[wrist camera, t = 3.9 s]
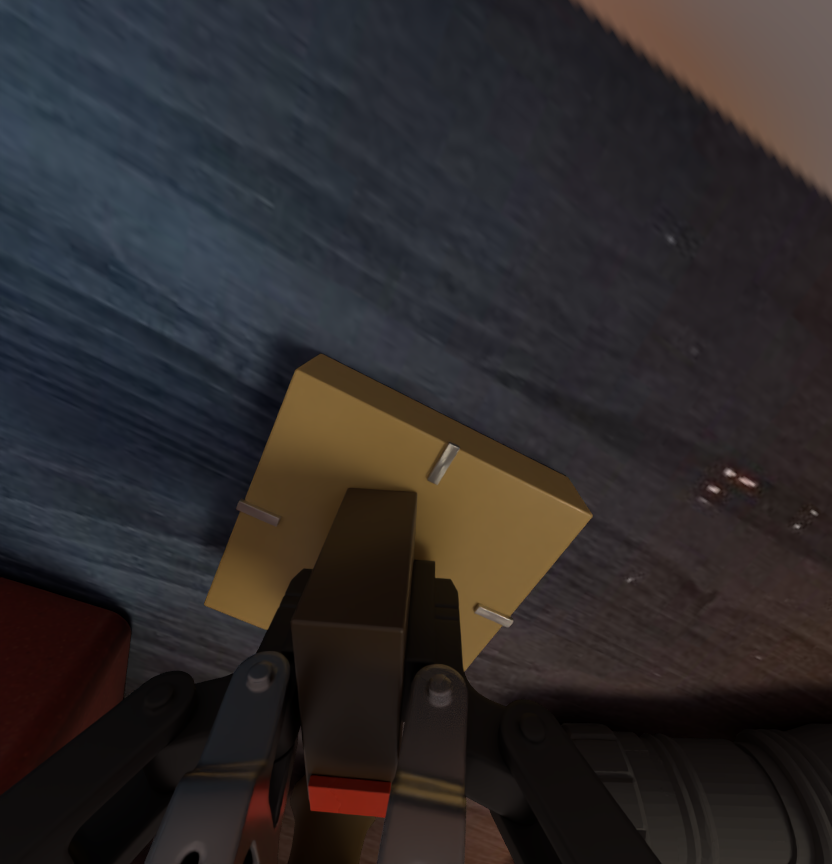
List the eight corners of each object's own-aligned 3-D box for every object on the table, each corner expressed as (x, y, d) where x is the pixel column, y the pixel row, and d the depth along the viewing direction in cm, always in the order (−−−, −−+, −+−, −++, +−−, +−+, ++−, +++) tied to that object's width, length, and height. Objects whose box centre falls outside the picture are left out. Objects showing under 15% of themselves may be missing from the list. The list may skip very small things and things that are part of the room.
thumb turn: (347, 486, 12) (283, 632, 7) (417, 490, 12) (403, 641, 7) (350, 628, 14) (304, 815, 9) (410, 633, 14) (395, 824, 9)
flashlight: (533, 764, 21) (563, 919, 16) (537, 696, 19) (572, 848, 14) (844, 769, 19) (985, 940, 14) (882, 697, 18) (1060, 865, 12)
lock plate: (318, 348, 13) (290, 365, 11) (572, 476, 14) (601, 517, 12) (232, 560, 17) (196, 610, 14) (441, 647, 18) (442, 707, 15)
